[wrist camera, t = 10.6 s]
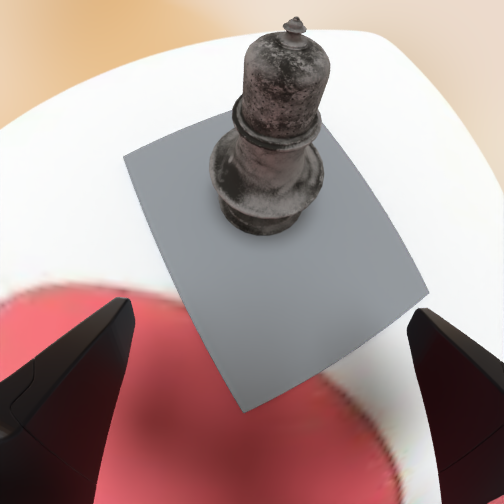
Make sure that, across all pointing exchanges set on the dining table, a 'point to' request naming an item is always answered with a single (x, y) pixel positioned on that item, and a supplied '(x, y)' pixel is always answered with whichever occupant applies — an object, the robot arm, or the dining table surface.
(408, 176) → the dining table surface
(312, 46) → the dark grey chess piece
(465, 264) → the dining table surface
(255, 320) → the mat
